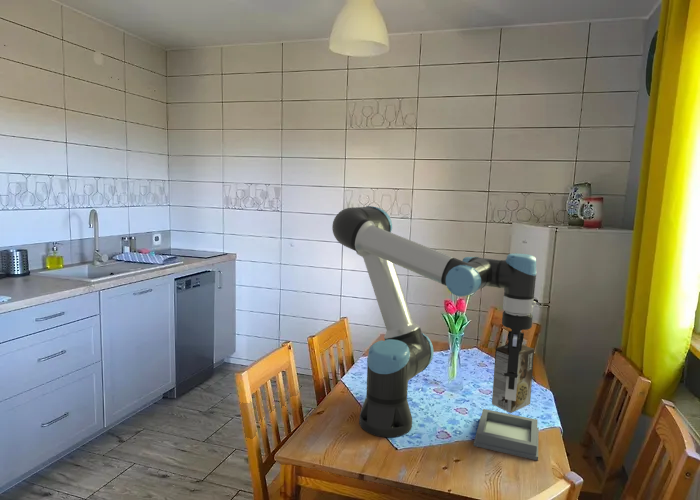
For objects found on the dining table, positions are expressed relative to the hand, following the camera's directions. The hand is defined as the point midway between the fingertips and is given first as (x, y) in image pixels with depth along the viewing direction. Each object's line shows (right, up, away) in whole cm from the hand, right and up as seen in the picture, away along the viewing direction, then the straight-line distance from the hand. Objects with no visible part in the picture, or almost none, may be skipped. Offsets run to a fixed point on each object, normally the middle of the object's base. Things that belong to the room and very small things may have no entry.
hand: (511, 391), depth 128 cm
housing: (-1, -14, +2) cm, 14 cm away
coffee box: (0, -4, +1) cm, 4 cm away
